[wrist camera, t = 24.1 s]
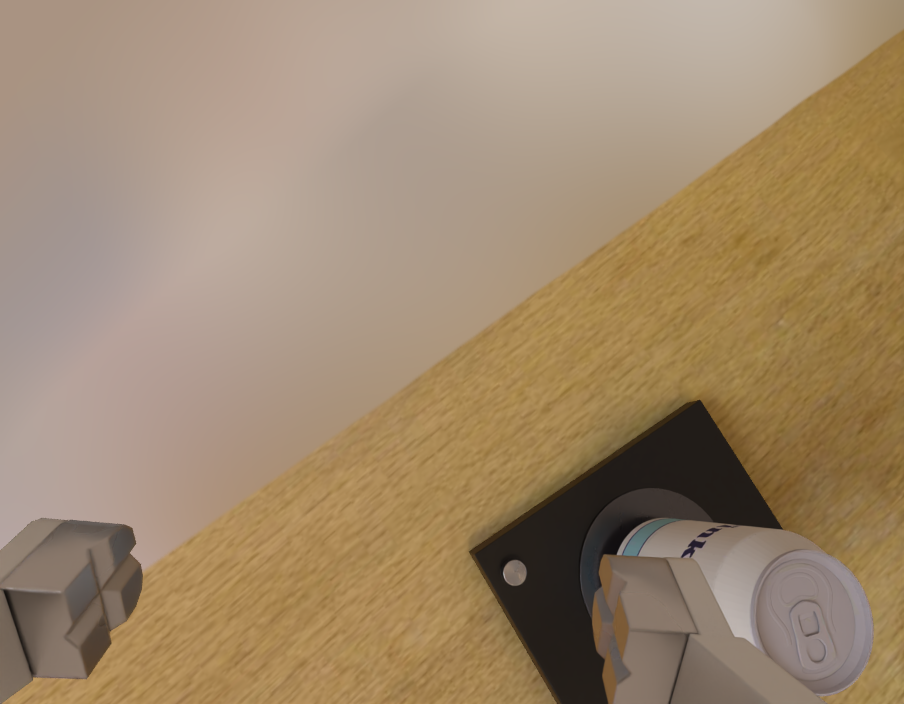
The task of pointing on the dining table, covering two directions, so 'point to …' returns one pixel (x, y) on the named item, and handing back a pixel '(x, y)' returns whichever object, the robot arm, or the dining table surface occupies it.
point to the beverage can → (774, 595)
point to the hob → (608, 539)
